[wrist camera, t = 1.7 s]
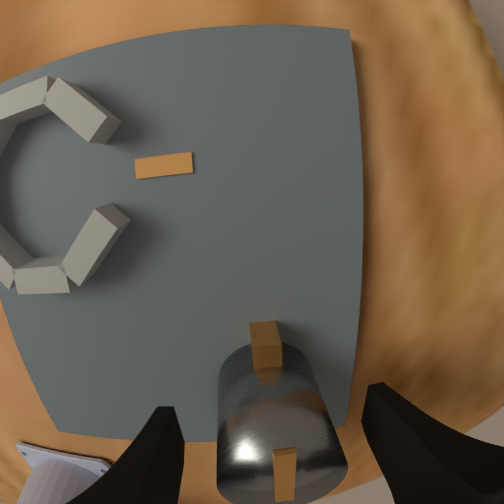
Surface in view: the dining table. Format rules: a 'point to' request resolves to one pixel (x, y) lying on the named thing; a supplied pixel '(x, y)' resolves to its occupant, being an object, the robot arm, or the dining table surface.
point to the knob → (274, 426)
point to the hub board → (181, 219)
